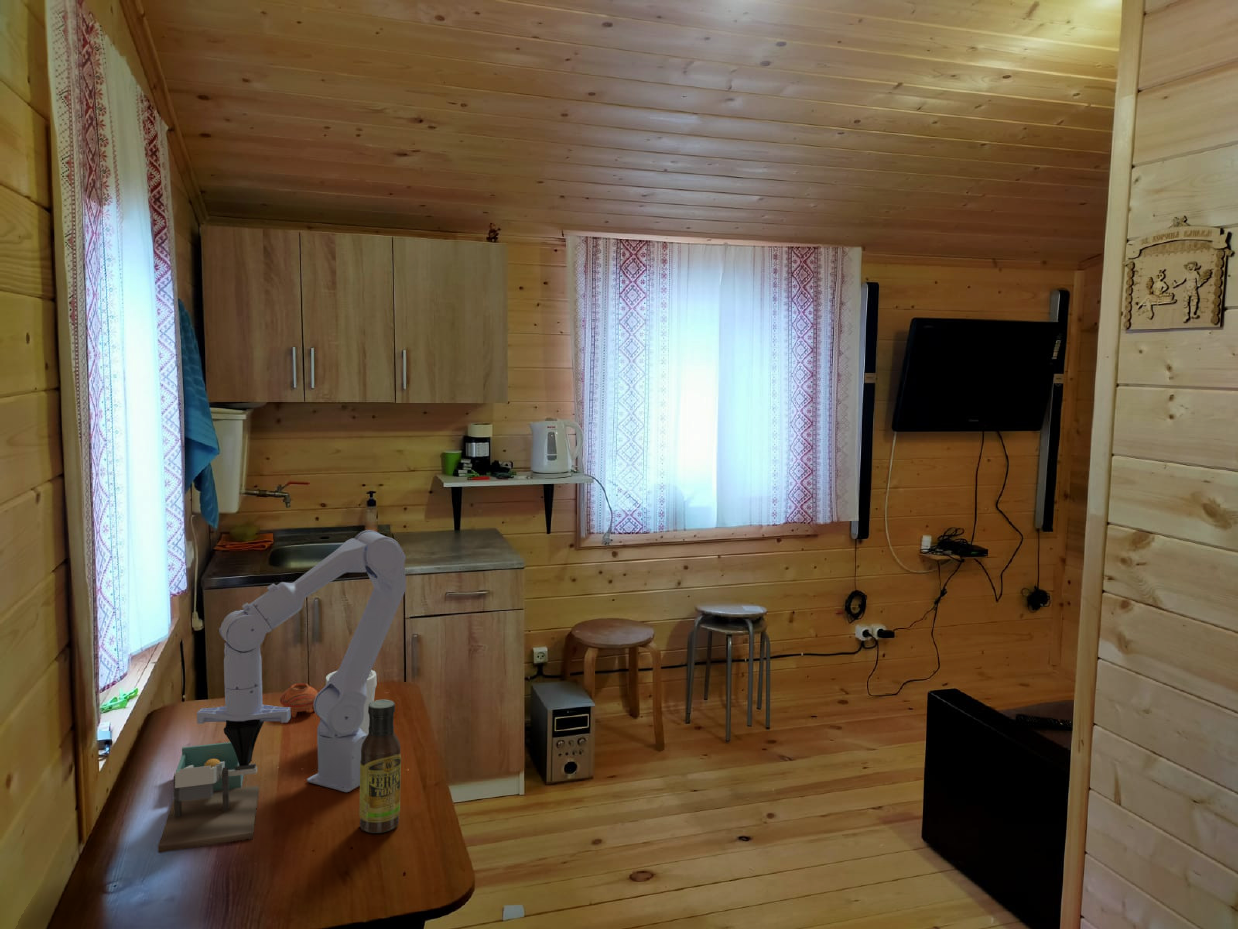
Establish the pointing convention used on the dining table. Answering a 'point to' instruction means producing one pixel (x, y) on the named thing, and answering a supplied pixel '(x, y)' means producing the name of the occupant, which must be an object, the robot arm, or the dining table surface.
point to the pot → (299, 698)
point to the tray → (204, 779)
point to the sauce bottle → (380, 771)
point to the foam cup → (370, 686)
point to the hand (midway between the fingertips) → (245, 763)
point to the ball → (212, 762)
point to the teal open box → (212, 751)
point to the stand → (210, 818)
